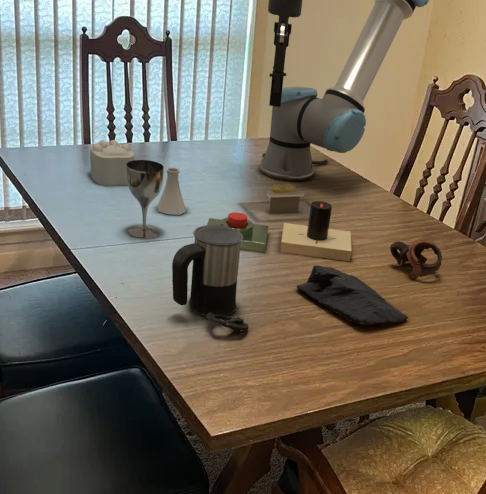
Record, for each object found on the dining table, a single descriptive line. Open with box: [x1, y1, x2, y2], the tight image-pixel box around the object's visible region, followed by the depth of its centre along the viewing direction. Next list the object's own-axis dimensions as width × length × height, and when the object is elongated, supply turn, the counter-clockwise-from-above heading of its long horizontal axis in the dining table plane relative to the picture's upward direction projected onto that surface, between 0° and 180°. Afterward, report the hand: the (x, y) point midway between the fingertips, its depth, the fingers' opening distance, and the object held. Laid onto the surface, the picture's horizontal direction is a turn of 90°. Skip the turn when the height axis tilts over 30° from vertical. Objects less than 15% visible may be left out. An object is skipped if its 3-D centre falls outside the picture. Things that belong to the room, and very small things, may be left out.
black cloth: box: [296, 264, 409, 326], centre depth 155 cm, size 15×22×5 cm
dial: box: [307, 200, 333, 240], centre depth 175 cm, size 5×5×8 cm
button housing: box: [206, 216, 269, 253], centre depth 176 cm, size 14×11×4 cm
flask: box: [156, 166, 187, 216], centre depth 184 cm, size 7×7×10 cm
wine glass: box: [126, 159, 165, 239], centre depth 170 cm, size 8×8×15 cm
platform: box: [241, 184, 311, 219], centre depth 194 cm, size 12×18×7 cm, turn 114°
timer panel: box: [279, 222, 353, 262], centre depth 178 cm, size 16×12×3 cm
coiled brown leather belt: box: [389, 240, 443, 280], centre depth 173 cm, size 12×9×8 cm
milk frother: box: [171, 224, 250, 333], centre depth 141 cm, size 14×16×15 cm
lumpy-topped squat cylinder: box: [89, 139, 135, 187], centre depth 199 cm, size 10×13×9 cm
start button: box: [227, 211, 248, 227], centre depth 174 cm, size 4×4×2 cm
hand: (274, 105), depth 185 cm, fingers closed
